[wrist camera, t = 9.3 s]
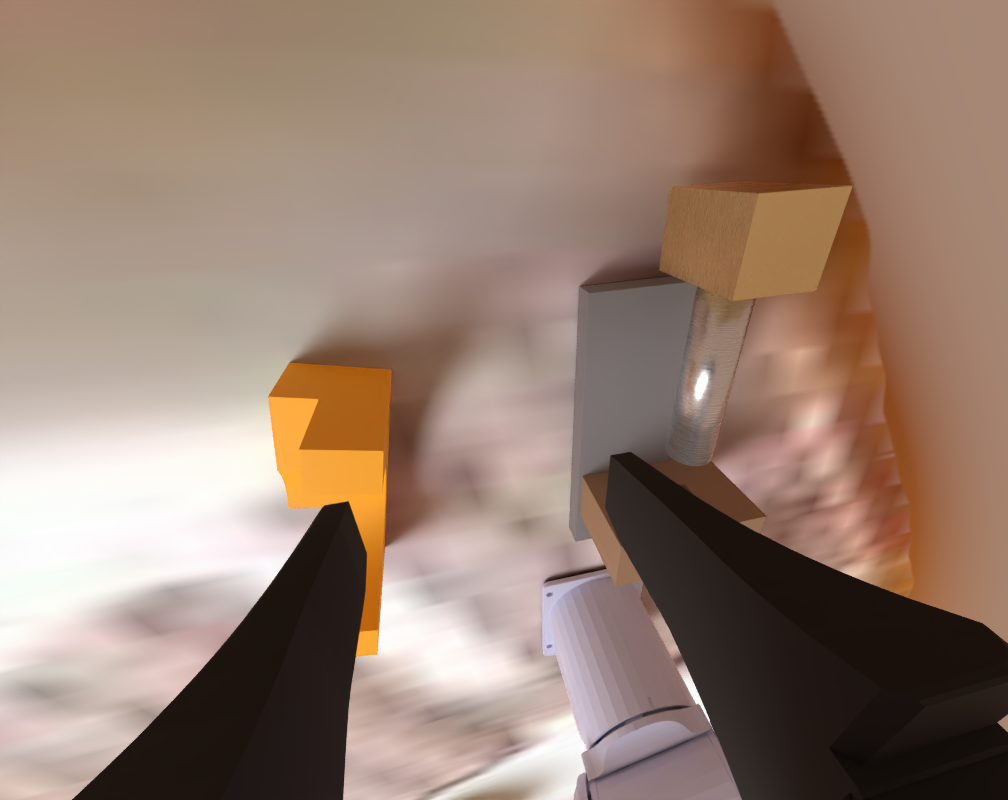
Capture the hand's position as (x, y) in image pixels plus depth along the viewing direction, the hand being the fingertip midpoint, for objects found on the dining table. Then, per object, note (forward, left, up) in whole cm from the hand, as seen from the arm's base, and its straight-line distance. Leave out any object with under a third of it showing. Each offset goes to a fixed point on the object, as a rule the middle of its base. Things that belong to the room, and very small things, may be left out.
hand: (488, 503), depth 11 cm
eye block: (-4, -10, -9) cm, 14 cm away
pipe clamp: (-5, +6, -10) cm, 13 cm away
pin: (+2, -10, -7) cm, 12 cm away
